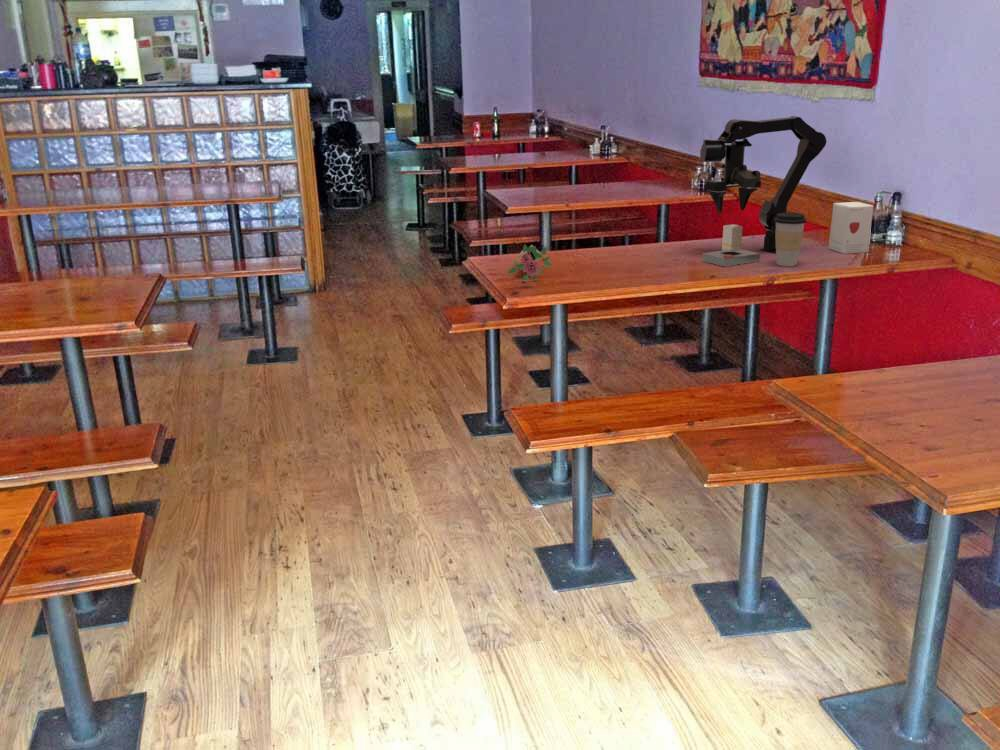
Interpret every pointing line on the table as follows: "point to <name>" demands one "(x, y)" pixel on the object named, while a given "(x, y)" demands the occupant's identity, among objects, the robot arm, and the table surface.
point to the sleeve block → (730, 257)
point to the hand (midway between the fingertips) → (731, 211)
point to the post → (732, 238)
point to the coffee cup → (788, 237)
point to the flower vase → (531, 262)
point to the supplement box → (850, 227)
